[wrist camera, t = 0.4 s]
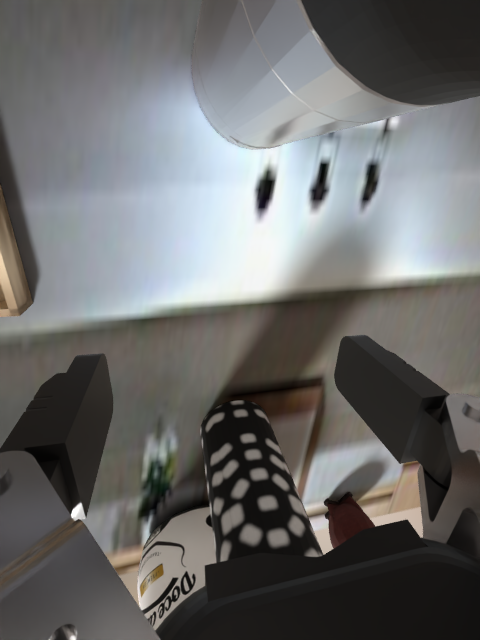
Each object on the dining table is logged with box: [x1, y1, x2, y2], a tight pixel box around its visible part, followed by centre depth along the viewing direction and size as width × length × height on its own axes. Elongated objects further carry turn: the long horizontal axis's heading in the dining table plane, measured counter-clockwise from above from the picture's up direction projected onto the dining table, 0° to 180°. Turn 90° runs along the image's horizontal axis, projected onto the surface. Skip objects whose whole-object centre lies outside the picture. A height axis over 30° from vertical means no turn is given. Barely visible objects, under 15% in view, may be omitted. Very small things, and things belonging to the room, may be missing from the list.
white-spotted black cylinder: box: [200, 400, 323, 563], centre depth 27 cm, size 8×8×20 cm
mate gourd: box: [324, 492, 375, 548], centre depth 42 cm, size 8×8×15 cm
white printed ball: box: [137, 505, 217, 630], centre depth 36 cm, size 17×17×18 cm
